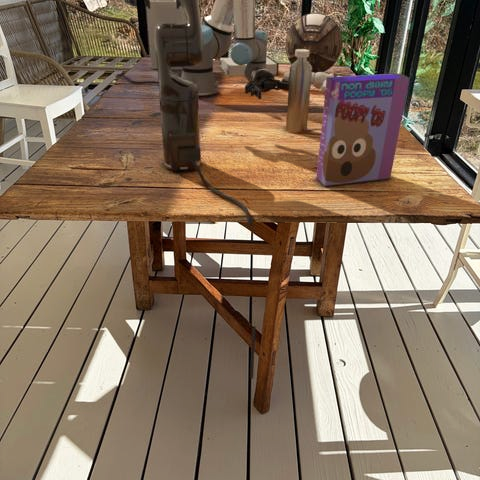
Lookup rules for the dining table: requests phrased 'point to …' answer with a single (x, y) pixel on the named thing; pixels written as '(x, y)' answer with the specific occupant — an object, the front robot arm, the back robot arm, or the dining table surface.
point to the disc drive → (238, 70)
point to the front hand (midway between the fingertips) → (163, 8)
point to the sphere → (315, 41)
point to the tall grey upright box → (162, 21)
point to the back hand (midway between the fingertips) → (279, 94)
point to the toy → (316, 79)
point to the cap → (302, 53)
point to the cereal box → (360, 127)
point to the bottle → (298, 95)
